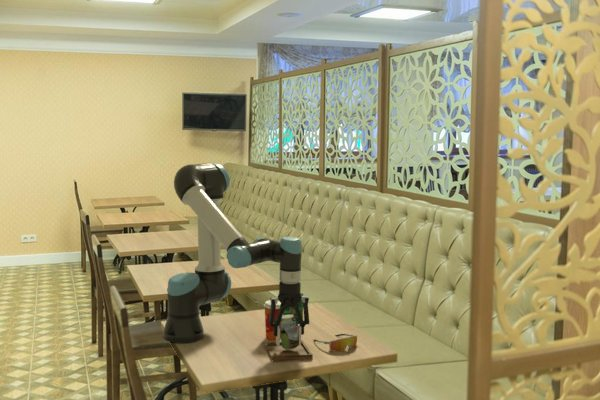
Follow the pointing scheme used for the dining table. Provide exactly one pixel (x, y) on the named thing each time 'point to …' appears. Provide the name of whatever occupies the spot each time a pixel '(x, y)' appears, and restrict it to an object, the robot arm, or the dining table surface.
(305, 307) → the robot arm
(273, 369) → the dining table surface
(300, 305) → the coffee box
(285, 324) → the beverage can
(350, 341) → the sunglasses
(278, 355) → the far tray
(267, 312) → the paper cup
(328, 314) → the dining table surface
